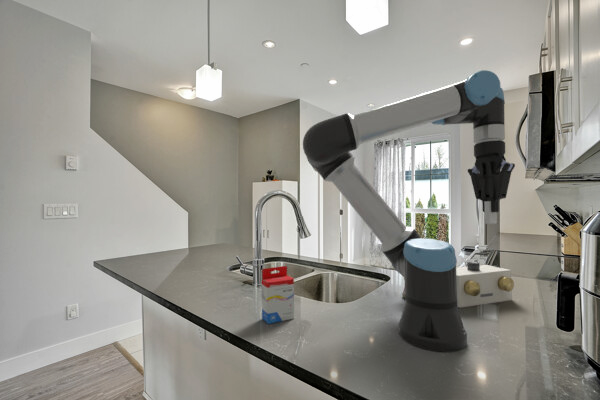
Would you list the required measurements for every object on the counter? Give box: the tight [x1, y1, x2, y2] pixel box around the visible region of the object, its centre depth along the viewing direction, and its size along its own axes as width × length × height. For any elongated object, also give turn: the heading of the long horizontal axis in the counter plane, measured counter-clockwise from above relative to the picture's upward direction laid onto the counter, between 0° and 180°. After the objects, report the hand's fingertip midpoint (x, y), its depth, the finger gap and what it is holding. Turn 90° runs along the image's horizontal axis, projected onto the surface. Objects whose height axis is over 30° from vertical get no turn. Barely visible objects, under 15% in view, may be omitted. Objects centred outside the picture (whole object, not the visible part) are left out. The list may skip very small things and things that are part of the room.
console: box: [456, 264, 513, 309], centre depth 94 cm, size 22×9×10 cm, turn 106°
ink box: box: [261, 265, 295, 325], centre depth 81 cm, size 8×5×15 cm, turn 117°
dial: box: [466, 261, 481, 271], centre depth 94 cm, size 4×4×3 cm
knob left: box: [464, 280, 480, 296], centre depth 90 cm, size 4×9×4 cm, turn 16°
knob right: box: [498, 277, 515, 292], centre depth 94 cm, size 4×9×4 cm, turn 16°
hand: (490, 223), depth 80 cm, fingers closed
